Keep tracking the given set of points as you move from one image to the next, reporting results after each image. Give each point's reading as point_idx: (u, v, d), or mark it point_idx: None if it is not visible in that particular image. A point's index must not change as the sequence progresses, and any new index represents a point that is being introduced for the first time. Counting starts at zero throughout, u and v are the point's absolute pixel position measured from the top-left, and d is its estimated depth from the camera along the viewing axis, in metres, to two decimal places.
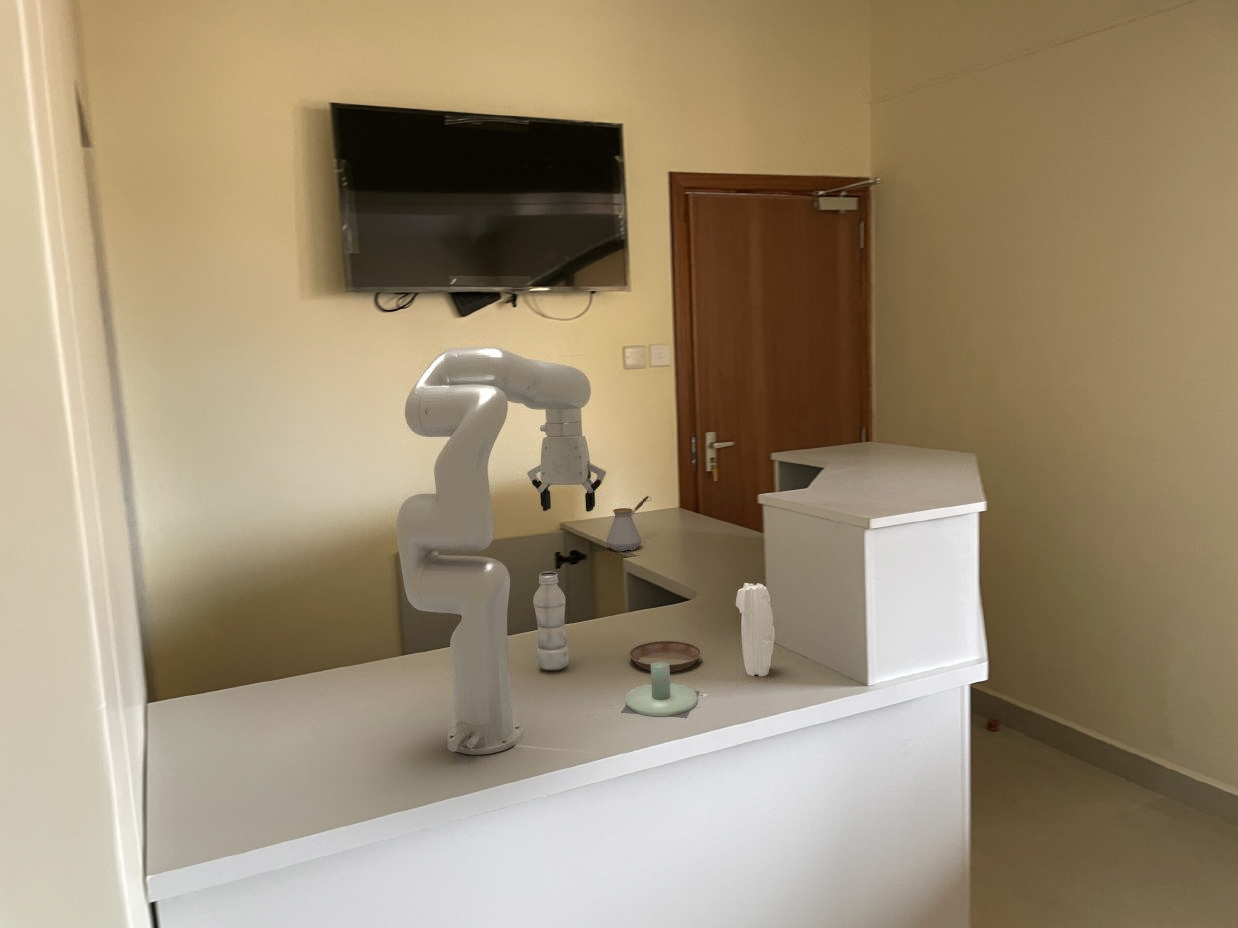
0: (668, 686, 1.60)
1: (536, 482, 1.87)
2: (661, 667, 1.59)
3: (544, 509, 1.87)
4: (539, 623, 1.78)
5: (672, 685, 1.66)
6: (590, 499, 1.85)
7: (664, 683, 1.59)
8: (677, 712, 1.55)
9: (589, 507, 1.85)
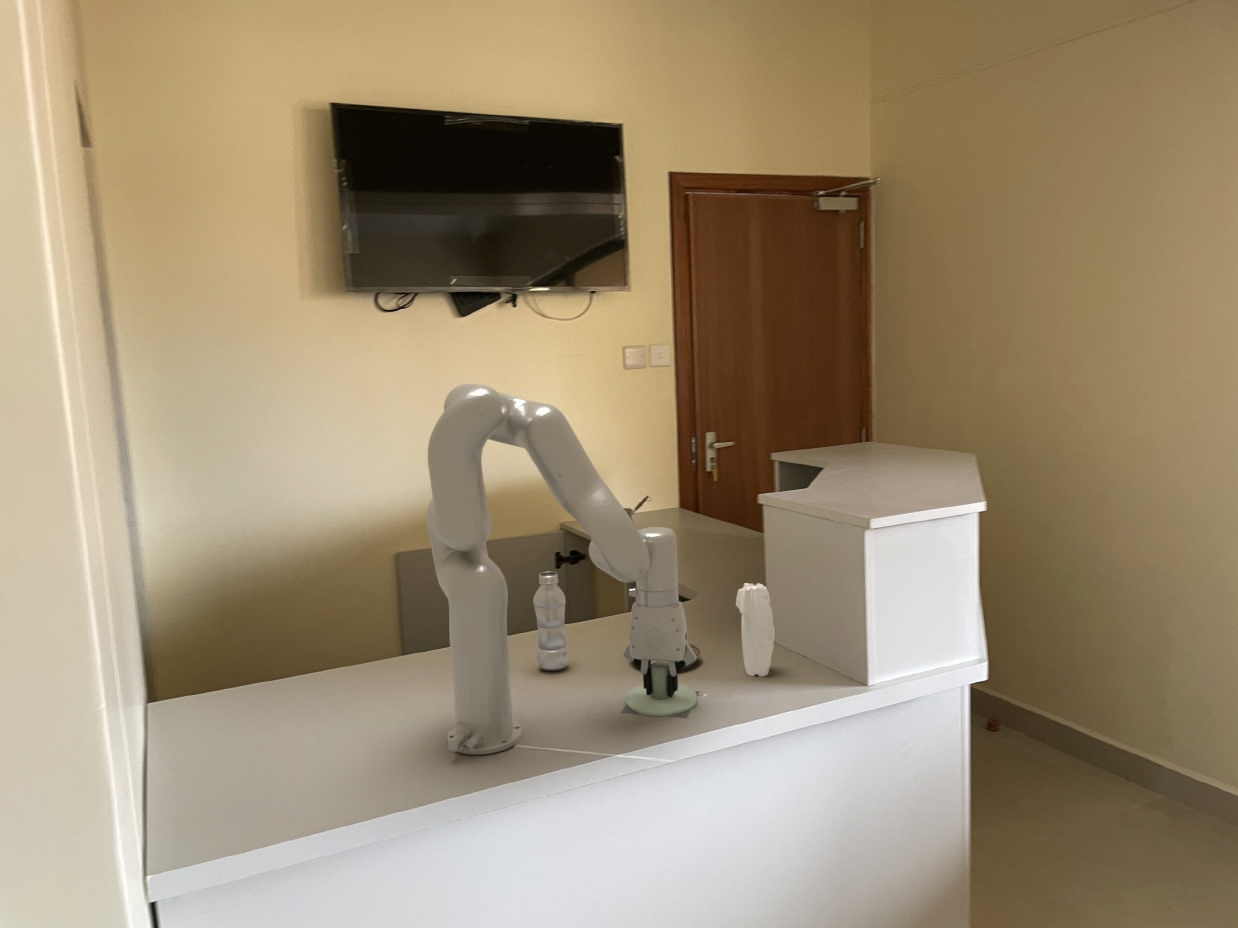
0: None
1: (638, 661, 1.60)
2: (661, 667, 1.59)
3: (648, 693, 1.60)
4: (539, 623, 1.78)
5: None
6: (673, 682, 1.59)
7: (664, 683, 1.59)
8: (677, 712, 1.55)
9: (672, 691, 1.59)
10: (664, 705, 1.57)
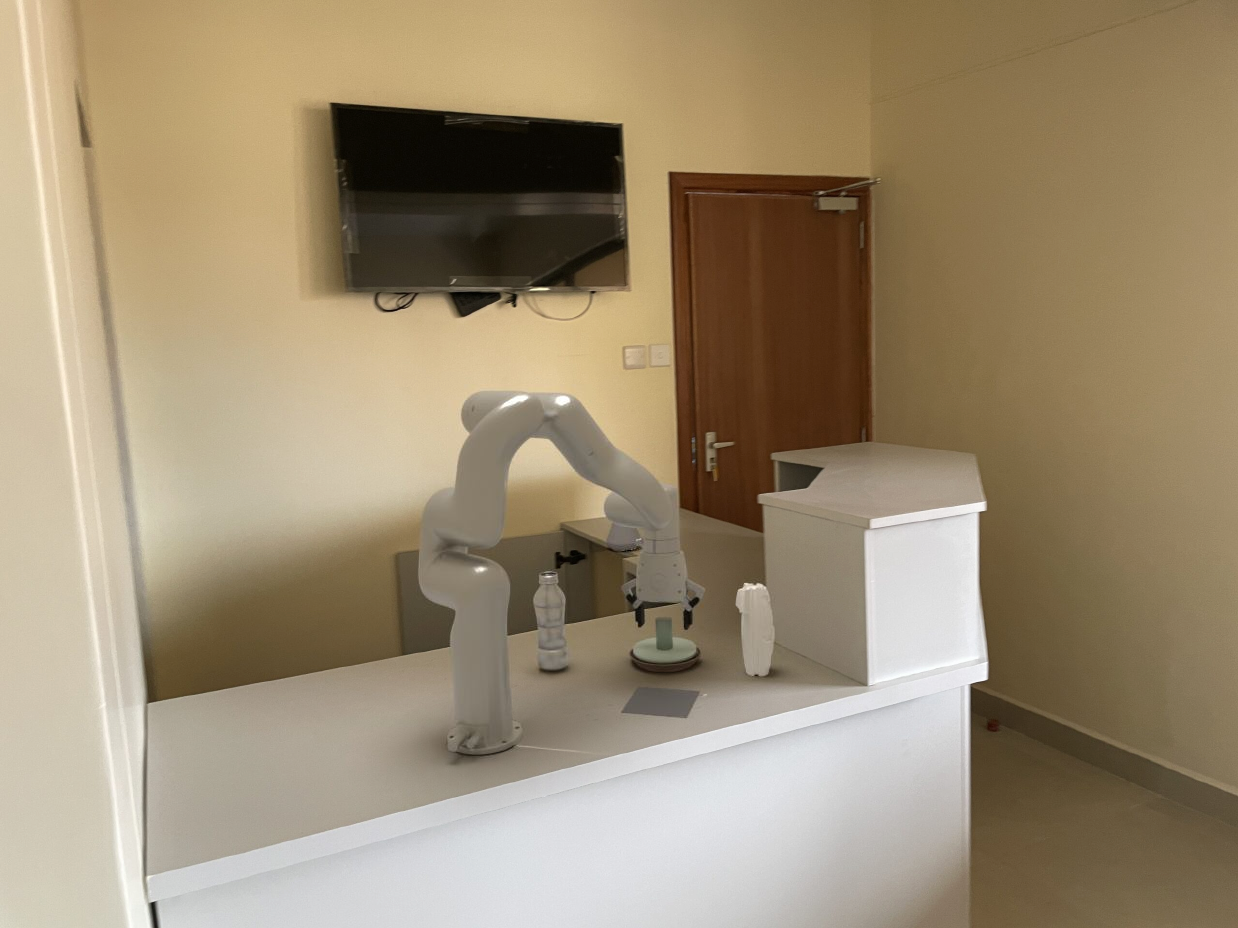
0: (671, 638, 1.79)
1: (631, 597, 1.80)
2: (664, 621, 1.79)
3: (639, 625, 1.80)
4: (539, 623, 1.78)
5: (674, 638, 1.85)
6: (688, 617, 1.77)
7: (667, 635, 1.79)
8: (679, 660, 1.75)
9: (687, 625, 1.78)
10: (667, 654, 1.76)
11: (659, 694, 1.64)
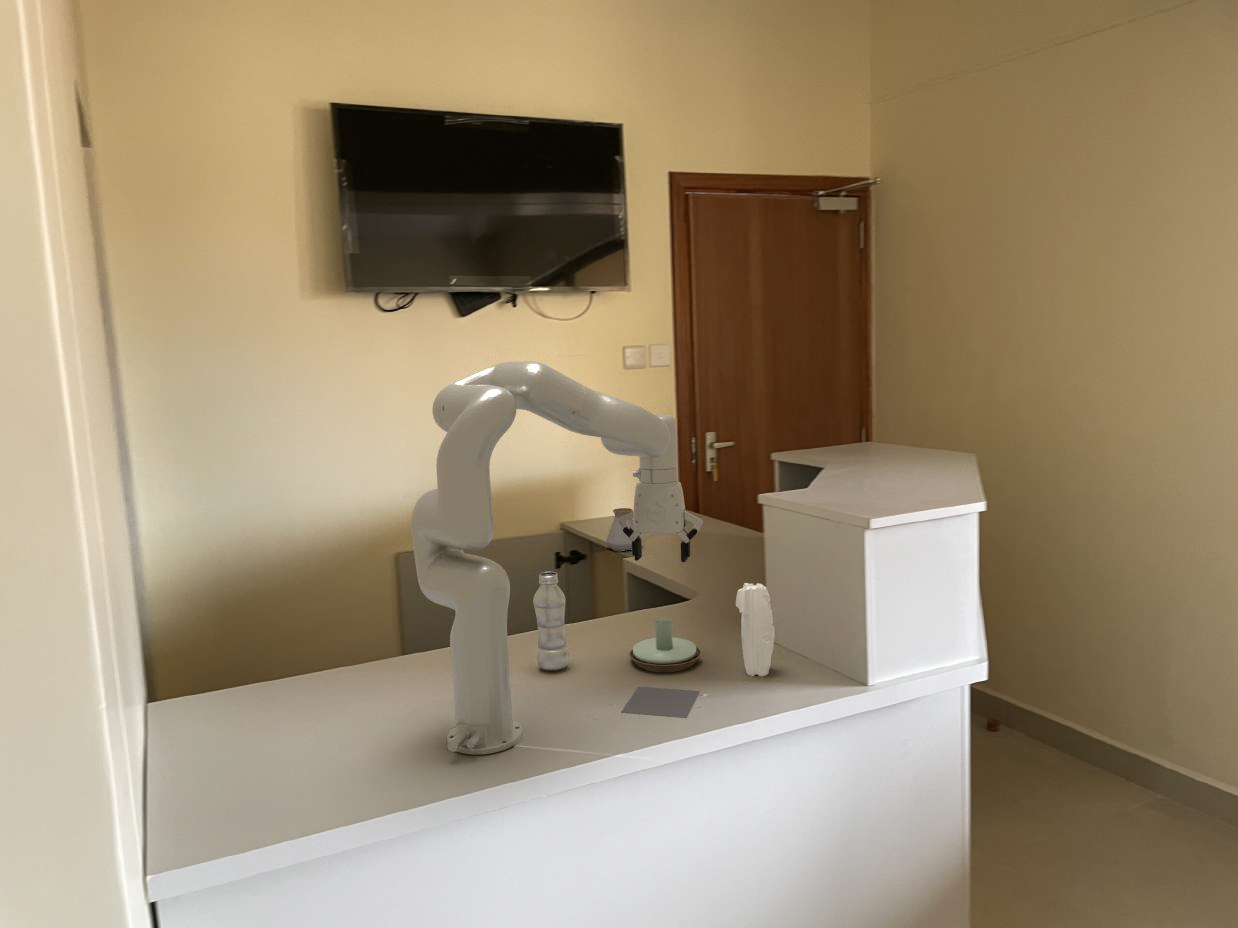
0: (670, 638, 1.79)
1: (628, 530, 1.78)
2: (664, 621, 1.79)
3: (636, 558, 1.78)
4: (539, 623, 1.78)
5: (674, 639, 1.85)
6: (686, 549, 1.75)
7: (667, 635, 1.79)
8: (678, 660, 1.75)
9: (684, 557, 1.75)
10: (667, 654, 1.76)
11: (659, 694, 1.64)
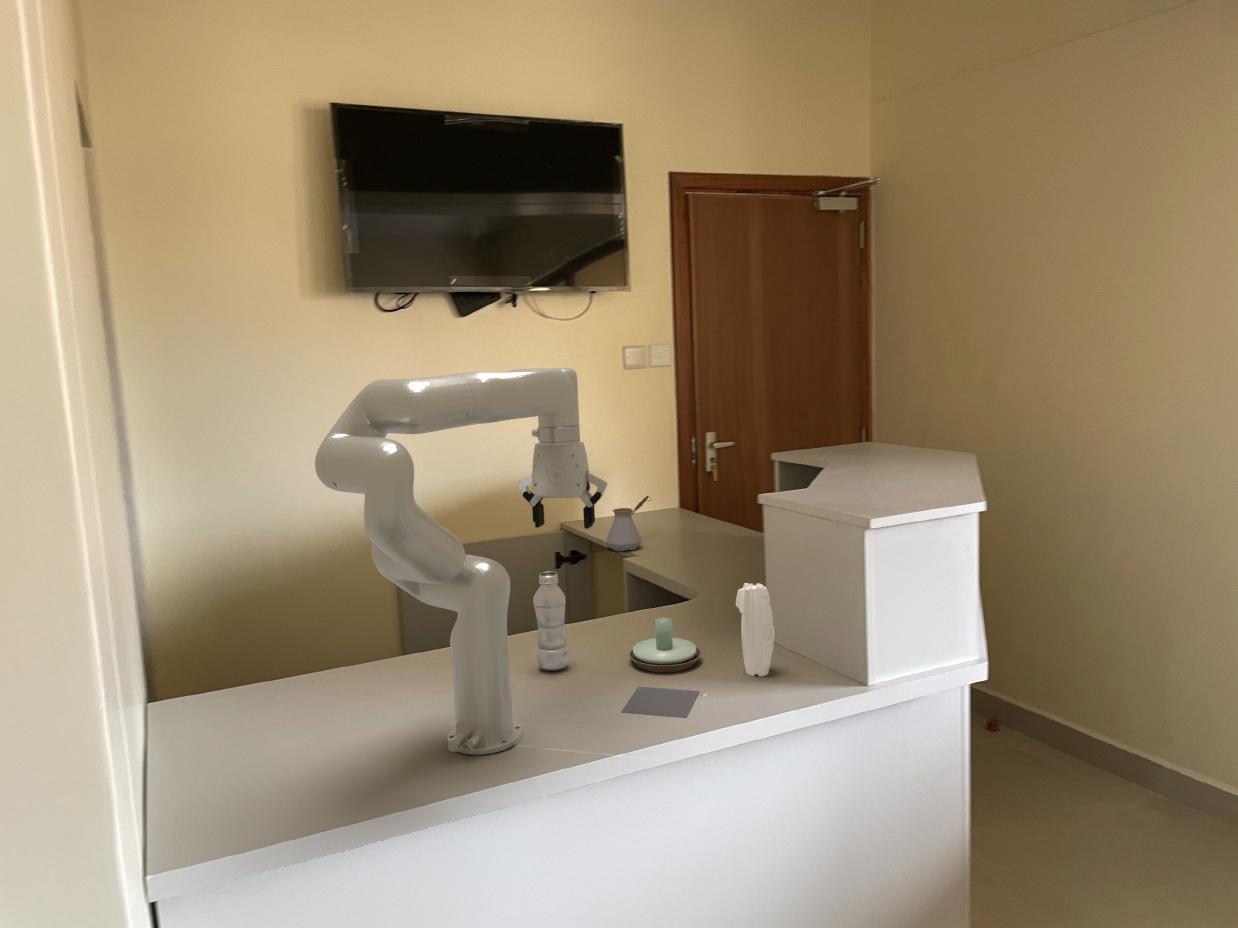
0: (671, 638, 1.80)
1: (527, 494, 1.64)
2: (664, 621, 1.79)
3: (536, 525, 1.64)
4: (539, 623, 1.78)
5: (674, 639, 1.86)
6: (589, 514, 1.61)
7: (667, 636, 1.79)
8: (679, 660, 1.75)
9: (588, 523, 1.61)
10: (667, 655, 1.77)
11: (659, 694, 1.64)
